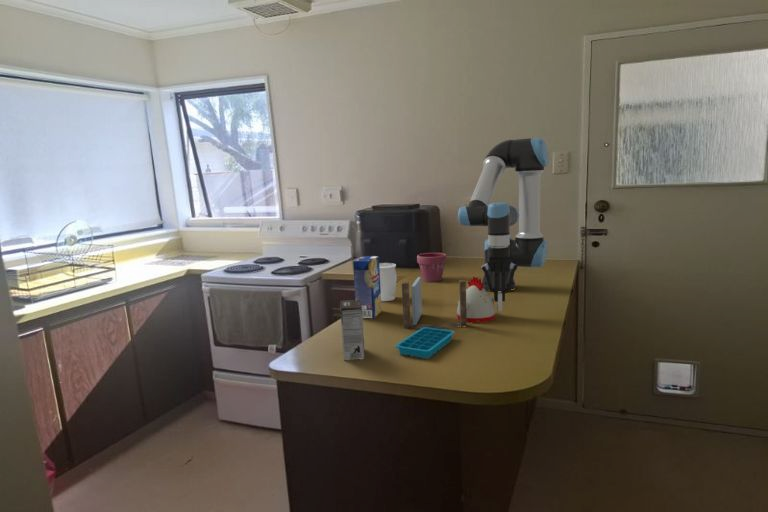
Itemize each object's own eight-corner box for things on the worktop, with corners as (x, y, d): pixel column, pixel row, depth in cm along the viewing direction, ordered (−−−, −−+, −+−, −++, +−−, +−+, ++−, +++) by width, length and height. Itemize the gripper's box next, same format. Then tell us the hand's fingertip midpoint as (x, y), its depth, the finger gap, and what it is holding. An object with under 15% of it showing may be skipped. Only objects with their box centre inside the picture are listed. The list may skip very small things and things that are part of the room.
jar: (395, 302, 212) (393, 267, 209) (371, 302, 214) (369, 267, 212) (399, 296, 222) (398, 262, 220) (376, 296, 224) (374, 262, 222)
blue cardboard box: (381, 310, 200) (378, 256, 197) (373, 319, 190) (370, 261, 186) (365, 310, 202) (362, 256, 198) (356, 318, 192) (352, 261, 188)
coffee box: (343, 350, 158) (340, 300, 156) (363, 348, 159) (361, 298, 156) (343, 361, 149) (340, 308, 147) (365, 359, 150) (362, 306, 147)
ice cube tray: (394, 355, 153) (393, 346, 152) (423, 335, 170) (423, 326, 169) (429, 361, 147) (428, 351, 146) (456, 340, 164) (455, 331, 163)
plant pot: (439, 275, 259) (438, 251, 257) (451, 281, 246) (451, 255, 244) (413, 279, 255) (412, 254, 253) (424, 284, 242) (423, 258, 239)
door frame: (465, 323, 179) (465, 279, 176) (467, 327, 175) (466, 282, 172) (403, 325, 180) (402, 281, 178) (403, 328, 177) (401, 284, 174)
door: (414, 312, 194) (413, 277, 191) (422, 313, 193) (420, 277, 191) (408, 324, 179) (406, 286, 177) (416, 325, 179) (414, 286, 176)
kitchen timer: (472, 325, 177) (471, 283, 174) (449, 316, 189) (448, 276, 186) (503, 318, 183) (502, 277, 181) (479, 309, 195) (478, 271, 193)
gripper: (515, 243, 184) (515, 306, 188) (479, 245, 185) (480, 307, 189) (519, 247, 177) (519, 312, 181) (481, 248, 178) (483, 313, 182)
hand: (499, 309), depth 185 cm, fingers closed
